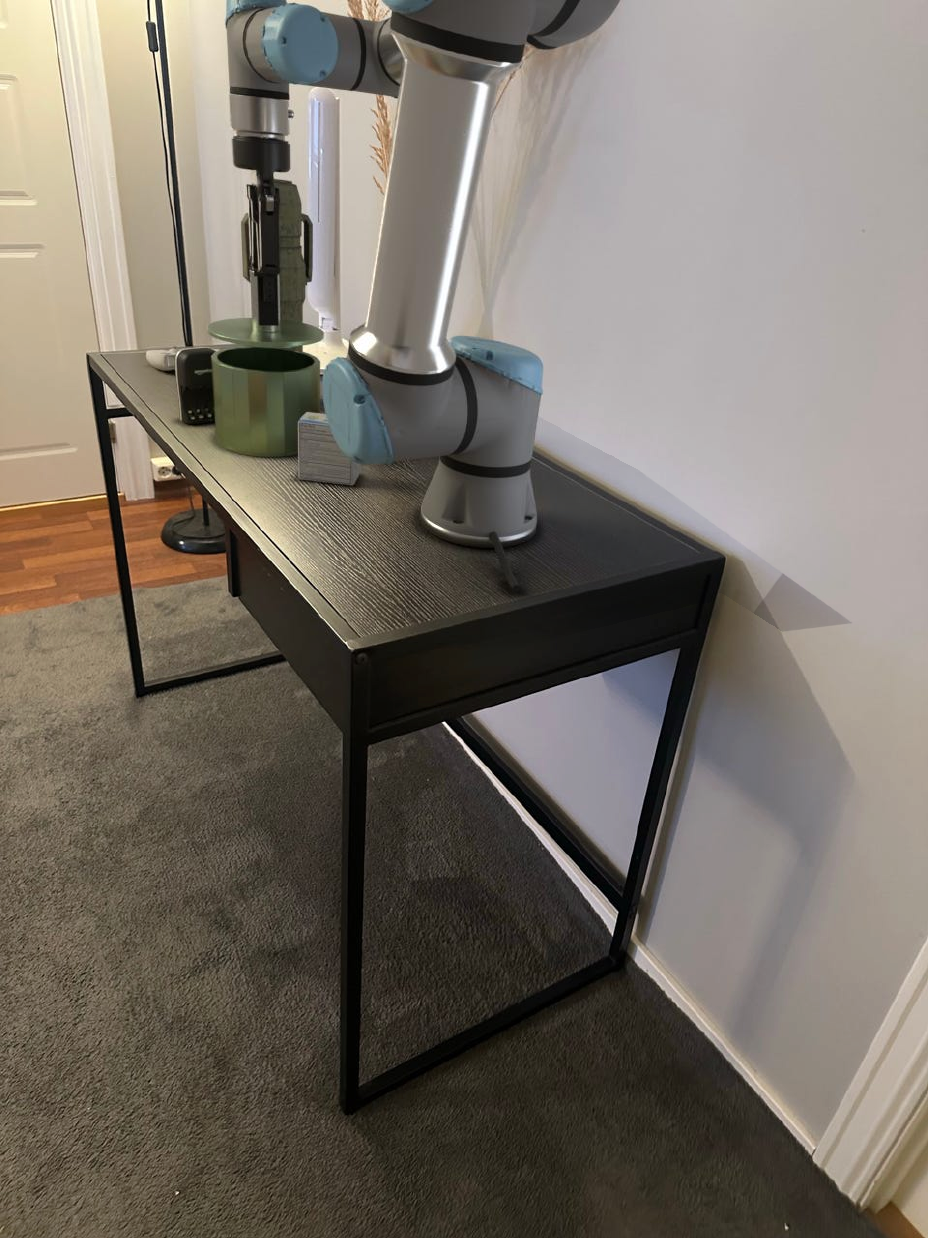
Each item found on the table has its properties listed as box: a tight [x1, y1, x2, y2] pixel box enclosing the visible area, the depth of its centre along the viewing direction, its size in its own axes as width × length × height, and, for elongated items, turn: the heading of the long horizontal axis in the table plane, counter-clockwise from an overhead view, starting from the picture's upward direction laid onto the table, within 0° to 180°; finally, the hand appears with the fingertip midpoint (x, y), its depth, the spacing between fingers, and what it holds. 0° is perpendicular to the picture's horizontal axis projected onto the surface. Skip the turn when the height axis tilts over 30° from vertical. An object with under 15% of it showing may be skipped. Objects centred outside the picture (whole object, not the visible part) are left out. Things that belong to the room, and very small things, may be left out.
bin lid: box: [206, 269, 325, 348], centre depth 120 cm, size 17×17×9 cm
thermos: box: [240, 178, 314, 352], centre depth 139 cm, size 9×12×35 cm
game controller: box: [145, 345, 221, 372], centre depth 159 cm, size 14×4×10 cm
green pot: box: [211, 345, 321, 458], centre depth 127 cm, size 16×16×12 cm
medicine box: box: [297, 412, 360, 487], centre depth 116 cm, size 8×4×9 cm, turn 84°
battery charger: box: [174, 346, 216, 425], centre depth 131 cm, size 7×4×11 cm, turn 131°
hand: (266, 321), depth 121 cm, fingers closed on bin lid, 4 cm apart
